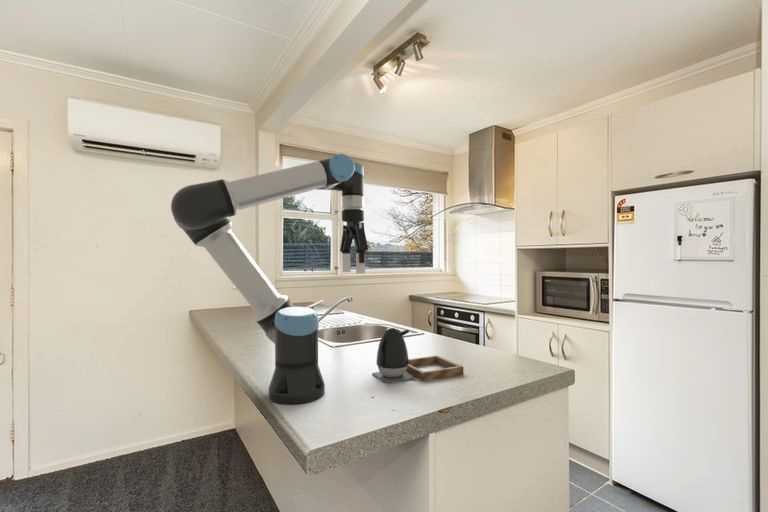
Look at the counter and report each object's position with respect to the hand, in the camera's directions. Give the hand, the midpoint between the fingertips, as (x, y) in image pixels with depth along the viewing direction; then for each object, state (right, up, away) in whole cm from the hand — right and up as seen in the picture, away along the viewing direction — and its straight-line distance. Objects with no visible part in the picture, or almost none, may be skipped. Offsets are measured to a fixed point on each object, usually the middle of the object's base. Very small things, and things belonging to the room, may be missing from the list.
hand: (353, 272), depth 125 cm
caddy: (+26, -33, -2) cm, 42 cm away
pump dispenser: (+13, -32, -8) cm, 36 cm away
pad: (+13, -33, -8) cm, 36 cm away
